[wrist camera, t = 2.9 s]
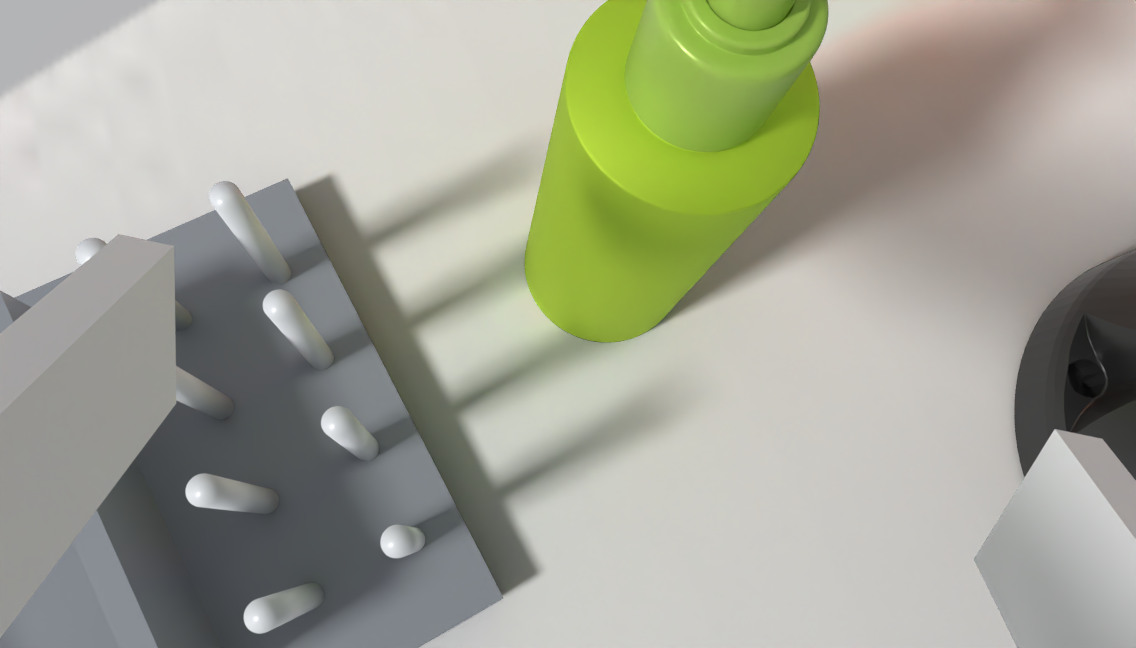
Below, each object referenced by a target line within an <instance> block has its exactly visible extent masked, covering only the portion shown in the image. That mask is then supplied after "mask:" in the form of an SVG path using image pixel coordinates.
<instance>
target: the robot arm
mask: <svg viewBox="0 0 1136 648" xmlns="http://www.w3.org/2000/svg"><path fill="white" fill-rule="evenodd" d="M175 404H176V342H175V272H174V246H172V245H167V244H163V243H158V242H153V241H148V240H143V239H139V238H134V237H129V236H124V235H117V236H116V237H115V238H114V239H113V240H111V241H110V242H109V243H108V244H107V245H105V246H104V247H103V248H102V249H101V250H99V251H98V252H97V253H96V254H95V255H93V256H92V257H91V258H90V259H89V260H87V261H86V262H85V263H84V264H83V265H81V266H80V267H79V268H78V269H77V270H75V271H74V272H73V273H72V274H71V275H69V276H68V277H67V278H66V279H65V280H63V281H62V282H61V283H60V284H59V285H57V286H56V287H55V288H54V289H53V290H51V291H50V292H49V293H48V294H47V295H46V296H44V297H43V298H42V299H41V300H40V301H38V302H37V303H36V304H35V305H34V306H32V307H31V308H30V309H29V310H28V311H26V312H25V313H24V314H23V315H22V316H20V317H19V318H18V319H17V320H16V321H14V322H13V323H12V324H11V325H10V326H8V327H7V328H6V329H5V330H4V331H2V332H1V333H0V638H1V637H2V635H3V634H4V633H5V631H6V630H7V629H8V627H9V626H10V625H11V623H12V622H13V621H14V619H15V618H16V617H17V615H18V614H19V613H20V611H21V610H22V609H23V607H24V606H25V605H26V603H27V602H28V601H29V599H30V598H31V597H32V595H33V594H34V593H35V591H36V590H37V589H38V587H39V586H40V585H41V583H42V582H43V581H44V579H45V578H46V577H47V575H48V574H49V573H50V571H51V570H52V569H53V567H54V566H55V565H56V563H57V562H58V561H59V559H60V558H61V557H62V555H63V554H64V553H65V551H66V550H67V549H68V547H69V546H70V545H71V543H72V542H73V541H74V539H75V538H76V537H77V535H78V534H79V533H80V531H81V530H82V529H83V527H84V526H85V525H86V523H87V522H88V521H89V519H90V518H91V517H92V515H93V514H94V513H95V511H96V510H97V509H98V507H99V506H100V505H101V503H102V502H103V501H104V499H105V498H106V497H107V495H108V494H109V493H110V491H111V490H112V489H113V487H114V486H115V485H116V483H117V482H118V481H119V479H120V478H121V477H122V475H123V474H124V473H125V471H126V470H127V469H128V467H129V466H130V465H131V463H132V462H133V461H134V459H135V458H136V457H137V455H138V454H139V453H140V451H141V450H142V449H143V447H144V446H145V445H146V443H147V442H148V441H149V439H150V438H151V437H152V435H153V434H154V433H155V431H156V430H157V428H158V427H159V426H160V424H161V423H162V422H163V420H164V419H165V418H166V416H167V415H168V414H169V412H170V411H171V410H172V408H173V407H174V406H175ZM1015 432H1016V440H1017V448H1018V453H1019V458H1020V463H1021V467H1022V470H1023V474H1024V479H1023V481H1022V483H1021V484H1020V486H1019V487H1018V489H1017V491H1016V492H1015V494H1014V496H1013V497H1012V499H1011V500H1010V502H1009V504H1008V505H1007V507H1006V508H1005V510H1004V512H1003V513H1002V515H1001V516H1000V518H999V520H998V521H997V523H996V525H995V526H994V528H993V529H992V531H991V533H990V534H989V536H988V537H987V539H986V541H985V542H984V544H983V546H982V547H981V549H980V550H979V552H978V554H977V555H976V557H975V558H974V561H975V563H976V565H977V567H978V569H979V571H980V573H981V575H982V577H983V579H984V581H985V583H986V585H987V587H988V589H989V591H990V593H991V595H992V597H993V599H994V601H995V603H996V605H997V607H998V609H999V611H1000V613H1001V615H1002V617H1003V619H1004V621H1005V623H1006V625H1007V627H1008V629H1009V631H1010V633H1011V636H1012V638H1013V640H1014V642H1015V644H1016V646H1017V648H1136V250H1134V251H1131V252H1129V253H1126V254H1124V255H1122V256H1119V257H1117V258H1115V259H1112V260H1110V261H1107V262H1105V263H1103V264H1100V265H1098V266H1096V267H1094V268H1092V269H1090V270H1089V271H1087V272H1085V273H1084V274H1082V275H1081V276H1079V277H1078V278H1077V279H1075V280H1074V281H1073V282H1071V283H1070V284H1069V285H1068V286H1067V287H1066V288H1064V289H1063V290H1062V291H1061V292H1060V293H1059V294H1058V295H1057V296H1056V298H1055V299H1054V300H1053V301H1052V302H1051V303H1050V305H1049V306H1048V307H1047V309H1046V310H1045V311H1044V313H1043V314H1042V316H1041V317H1040V319H1039V321H1038V322H1037V324H1036V326H1035V328H1034V330H1033V332H1032V334H1031V335H1030V338H1029V340H1028V343H1027V345H1026V348H1025V351H1024V354H1023V357H1022V360H1021V364H1020V368H1019V373H1018V378H1017V384H1016V393H1015Z"/></svg>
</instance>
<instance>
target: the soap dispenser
mask: <svg viewBox="0 0 1136 648" xmlns="http://www.w3.org/2000/svg"><path fill="white" fill-rule="evenodd" d="M827 22H828V1H827V0H608V1H606V2H605V3H604V4H603V5H601V6H600V7H599V8H598V9H597V10H596V11H595V12H594V13H593V14H592V15H591V16H590V17H589V19H588V20H587V21H586V23H585V24H584V25H583V27H582V28H581V30H580V31H579V33H578V35H577V37H576V39H575V41H574V43H573V46H572V48H571V51H570V54H569V57H568V61H567V65H566V70H565V74H564V79H563V83H562V88H561V92H560V97H559V101H558V106H557V110H556V115H555V119H554V124H553V128H552V133H551V138H550V142H549V147H548V151H547V156H546V160H545V165H544V169H543V174H542V178H541V183H540V187H539V192H538V196H537V201H536V205H535V210H534V214H533V219H532V223H531V228H530V232H529V237H528V241H527V246H526V251H525V274H526V279H527V283H528V286H529V289H530V292H531V294H532V296H533V298H534V300H535V302H536V303H537V305H538V306H539V308H540V309H541V311H542V312H543V313H544V314H545V315H546V316H547V317H548V318H549V319H550V320H551V321H552V322H553V323H554V324H555V325H557V326H558V327H560V328H561V329H563V330H564V331H566V332H568V333H570V334H572V335H574V336H576V337H579V338H582V339H585V340H589V341H595V342H619V341H624V340H628V339H632V338H634V337H637V336H639V335H641V334H643V333H645V332H647V331H649V330H650V329H652V328H653V327H654V326H656V325H657V324H658V323H659V322H660V321H661V320H662V319H663V318H664V317H665V316H666V315H667V314H668V313H669V312H670V311H671V309H672V308H673V307H674V306H675V305H676V304H677V303H678V302H679V301H680V300H681V299H682V298H683V296H684V295H685V294H686V293H687V292H688V291H689V290H690V289H691V288H692V287H693V286H694V285H695V283H696V282H697V281H698V280H699V279H700V278H701V277H702V276H703V275H704V274H705V273H706V272H707V271H708V269H709V268H710V267H711V266H712V265H713V264H714V263H715V262H716V261H717V260H718V259H719V258H720V256H721V255H722V254H723V253H724V252H725V251H726V250H727V249H728V248H729V247H730V246H731V245H732V244H733V242H734V241H735V240H736V239H737V238H738V237H739V236H740V235H741V234H742V233H743V232H744V231H745V229H746V228H747V227H748V226H749V225H750V224H751V223H752V222H753V221H754V220H755V219H756V218H757V216H758V215H759V214H760V213H761V212H762V211H763V210H764V209H765V208H766V207H767V206H768V205H769V204H770V202H771V201H772V200H773V199H774V198H775V197H776V196H777V195H778V194H779V193H780V192H781V191H782V189H783V188H784V187H785V186H786V185H787V184H788V183H789V182H790V181H791V180H792V179H793V177H794V176H795V175H796V174H797V173H798V171H799V170H800V168H801V167H802V166H803V164H804V162H805V161H806V159H807V157H808V155H809V153H810V151H811V148H812V146H813V143H814V140H815V137H816V133H817V129H818V123H819V108H820V105H819V93H818V87H817V82H816V78H815V75H814V71H813V68H812V66H811V63H810V60H811V59H812V58H813V56H814V55H815V53H816V51H817V50H818V48H819V46H820V44H821V42H822V40H823V37H824V34H825V31H826V27H827Z"/></svg>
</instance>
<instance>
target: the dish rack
mask: <svg viewBox="0 0 1136 648" xmlns="http://www.w3.org/2000/svg"><path fill="white" fill-rule="evenodd" d="M209 201H210V203H211V205H212V206H213V207H214V209H215V210H214V211H212V212H210V213H207V214H205V215H203V216H200V217H198V218H196V219H194V220H191V221H189V222H187V223H184V224H182V225H180V226H178V227H175V228H173V229H171V230H168V231H166V232H164V233H162V234H159V235H157V236H155V237H152V238H150V239H148V241H153V242H158V243H163V244H167V245H172V246H174V272H175V342H176V404H175V406H174V407H173V408H172V410H171V411H170V412H169V414H168V415H167V416H166V418H165V419H164V420H163V422H162V423H161V424H160V426H159V427H158V428H157V430H156V431H155V433H154V434H153V435H152V437H151V438H150V439H149V441H148V442H147V443H146V445H145V446H144V447H143V449H142V450H141V451H140V453H139V454H138V455H137V457H136V458H135V459H134V461H133V462H132V463H131V465H130V466H129V467H128V469H127V470H126V471H125V473H124V474H123V475H122V477H121V478H120V479H119V481H118V482H117V483H116V485H115V486H114V487H113V489H112V490H111V491H110V493H109V494H108V495H107V497H106V498H105V499H104V501H103V502H102V503H101V505H100V506H99V507H98V509H97V510H96V511H95V513H94V514H93V515H92V517H91V518H90V519H89V521H88V522H87V523H86V525H85V526H84V527H83V529H82V530H81V531H80V533H79V534H78V535H77V537H76V538H75V539H74V541H73V542H72V543H71V545H70V546H69V547H68V549H67V550H66V551H65V553H64V554H63V555H62V557H61V558H60V559H59V561H58V562H57V563H56V565H55V566H54V567H53V569H52V570H51V571H50V573H49V574H48V575H47V577H46V578H45V579H44V581H43V582H42V583H41V585H40V586H39V587H38V589H37V590H36V591H35V593H34V594H33V595H32V597H31V598H30V599H29V601H28V602H27V603H26V605H25V606H24V607H23V609H22V610H21V611H20V613H19V614H18V615H17V617H16V618H15V619H14V621H13V622H12V623H11V625H10V626H9V627H8V629H7V630H6V631H5V633H4V634H3V635H2V637H1V638H0V648H418V647H420V646H422V645H423V644H425V643H427V642H428V641H430V640H432V639H434V638H435V637H437V636H439V635H441V634H442V633H444V632H446V631H447V630H449V629H451V628H453V627H454V626H456V625H458V624H460V623H461V622H463V621H465V620H466V619H468V618H470V617H472V616H473V615H475V614H477V613H479V612H480V611H482V610H484V609H485V608H487V607H489V606H491V605H492V604H494V603H496V602H498V601H499V600H501V599H503V596H502V594H501V592H500V590H499V588H498V586H497V585H496V583H495V581H494V579H493V577H492V575H491V573H490V571H489V569H488V567H487V565H486V563H485V561H484V559H483V557H482V555H481V553H480V551H479V549H478V548H477V546H476V544H475V542H474V540H473V538H472V536H471V534H470V532H469V530H468V528H467V526H466V524H465V522H464V520H463V518H462V516H461V514H460V513H459V511H458V509H457V507H456V505H455V503H454V501H453V499H452V497H451V495H450V493H449V491H448V489H447V487H446V485H445V483H444V481H443V479H442V477H441V476H440V474H439V472H438V470H437V468H436V466H435V464H434V462H433V460H432V458H431V456H430V454H429V452H428V450H427V448H426V446H425V444H424V442H423V441H422V439H421V437H420V435H419V433H418V431H417V429H416V427H415V425H414V423H413V421H412V419H411V417H410V415H409V413H408V411H407V409H406V407H405V406H404V404H403V402H402V400H401V398H400V396H399V394H398V392H397V390H396V388H395V386H394V384H393V382H392V380H391V378H390V376H389V374H388V372H387V370H386V369H385V367H384V365H383V363H382V361H381V359H380V357H379V355H378V353H377V351H376V349H375V347H374V345H373V343H372V341H371V339H370V337H369V335H368V334H367V332H366V330H365V328H364V326H363V324H362V322H361V320H360V318H359V316H358V314H357V312H356V310H355V308H354V306H353V304H352V302H351V300H350V299H349V297H348V295H347V293H346V291H345V289H344V287H343V285H342V283H341V281H340V279H339V277H338V275H337V273H336V271H335V269H334V267H333V265H332V263H331V262H330V260H329V258H328V256H327V254H326V252H325V250H324V248H323V246H322V244H321V242H320V240H319V238H318V236H317V234H316V232H315V230H314V228H313V227H312V225H311V223H310V221H309V219H308V217H307V215H306V213H305V211H304V209H303V207H302V205H301V203H300V201H299V199H298V197H297V195H296V193H295V191H294V190H293V188H292V186H291V184H290V182H289V180H288V178H287V179H285V180H283V181H281V182H278V183H276V184H274V185H271V186H269V187H267V188H265V189H262V190H260V191H258V192H255V193H253V194H251V195H249V196H246V197H244V196H243V194H242V193H241V191H240V190H239V188H238V187H237V186H236V185H235V184H234V183H231V182H228V181H223V182H219V183H217V184H215V185H214V186H213V187H212V188H211V189H210V191H209ZM105 245H107V244H106V243H105V242H104V241H103V240H101V239H98V238H89V239H86V240H84V241H83V242H81V243H80V244H79V245H78V247H77V249H76V252H75V256H76V260H77V262H78V263H79V264H80V265H83V264H84V263H85V262H86V261H87V260H89V259H90V258H91V257H92V256H93V255H95V254H96V253H97V252H98V251H99V250H101V249H102V248H103V247H104V246H105ZM72 273H73V272H72ZM72 273H70V274H68V275H65V276H63V277H61V278H59V279H56V280H54V281H52V282H49V283H47V284H45V285H43V286H40V287H38V288H36V289H33V290H31V291H29V292H27V293H24V294H22V295H20V296H17V297H15V298H13V297H11V296H9V295H8V294H6V293H4V292H2V291H0V333H1V332H2V331H4V330H5V329H6V328H7V327H8V326H10V325H11V324H12V323H13V322H14V321H16V320H17V319H18V318H19V317H20V316H22V315H23V314H24V313H25V312H26V311H28V310H29V309H30V308H31V307H32V306H34V305H35V304H36V303H37V302H38V301H40V300H41V299H42V298H43V297H44V296H46V295H47V294H48V293H49V292H50V291H51V290H53V289H54V288H55V287H56V286H57V285H59V284H60V283H61V282H62V281H63V280H65V279H66V278H67V277H68V276H69V275H71V274H72Z"/></svg>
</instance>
